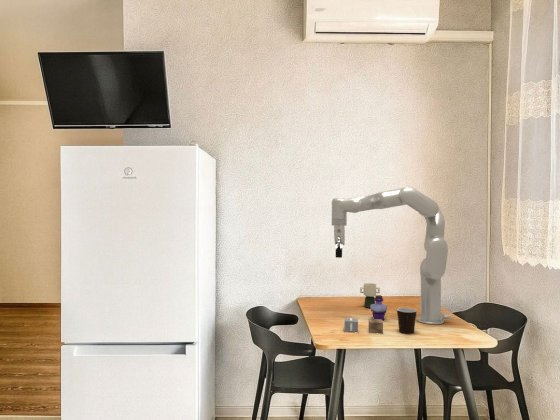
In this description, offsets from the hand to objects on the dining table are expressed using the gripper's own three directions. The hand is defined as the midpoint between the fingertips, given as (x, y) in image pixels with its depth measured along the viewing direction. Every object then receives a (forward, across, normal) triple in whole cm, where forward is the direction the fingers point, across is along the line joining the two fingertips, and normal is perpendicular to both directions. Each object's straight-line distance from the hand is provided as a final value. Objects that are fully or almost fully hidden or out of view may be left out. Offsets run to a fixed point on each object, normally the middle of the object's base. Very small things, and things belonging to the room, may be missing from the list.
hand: (338, 256), depth 226 cm
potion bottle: (+31, 0, -20) cm, 37 cm away
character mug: (+31, +26, -17) cm, 44 cm away
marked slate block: (+31, -22, -6) cm, 39 cm away
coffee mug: (+31, -22, -30) cm, 49 cm away
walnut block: (+31, -22, -17) cm, 42 cm away
